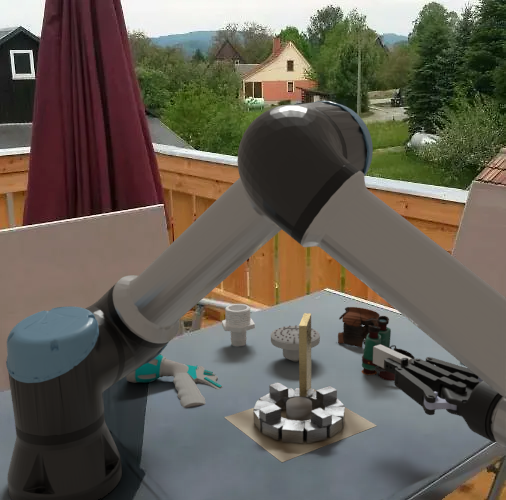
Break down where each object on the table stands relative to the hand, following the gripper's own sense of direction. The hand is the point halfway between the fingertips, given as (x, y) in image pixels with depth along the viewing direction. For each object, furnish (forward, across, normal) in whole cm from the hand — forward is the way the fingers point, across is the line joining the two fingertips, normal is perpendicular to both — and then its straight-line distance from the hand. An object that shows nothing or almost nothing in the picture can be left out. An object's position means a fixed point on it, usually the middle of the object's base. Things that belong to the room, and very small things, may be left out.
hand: (376, 353), depth 102 cm
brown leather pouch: (+29, +23, -13) cm, 39 cm away
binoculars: (+12, +15, -13) cm, 23 cm away
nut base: (+6, -10, -12) cm, 17 cm away
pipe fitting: (+42, +1, -13) cm, 44 cm away
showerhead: (+26, +4, -13) cm, 30 cm away
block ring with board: (+8, -9, -11) cm, 16 cm away
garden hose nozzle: (+30, -19, -13) cm, 38 cm away
